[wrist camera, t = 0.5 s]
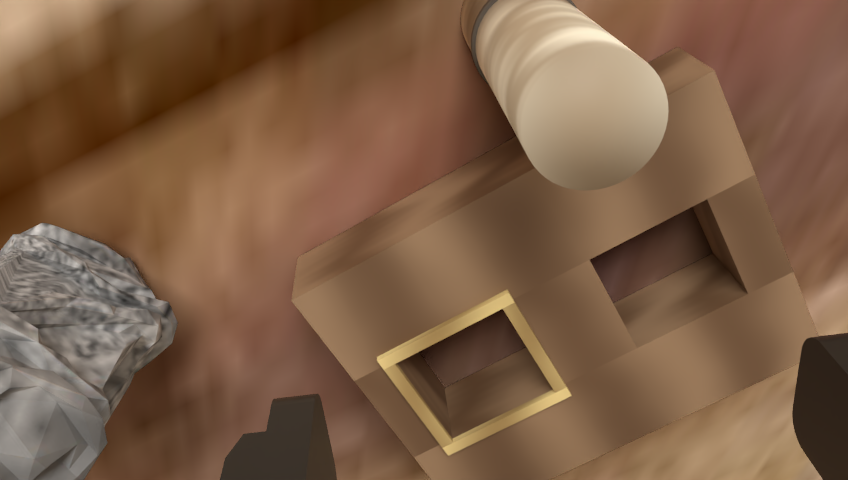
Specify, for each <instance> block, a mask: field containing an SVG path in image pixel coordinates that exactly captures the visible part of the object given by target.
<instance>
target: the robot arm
mask: <svg viewBox="0 0 848 480" xmlns="http://www.w3.org/2000/svg"><path fill="white" fill-rule="evenodd" d="M793 425H794V429H795V433H796V436H797V439H798V442H799V444H800V446H801V448H802V449H803V451H804V452H805V454H806V455H807V457H808V458H809V460H810V461H811V463H812V464H813V465H814V467H815V468H816V470H817V471H818V473H819V474H820V476H821V477H822V479H823V480H848V333H844V334H835V335H827V336H818V337H810V338H807V339H806V340H805V341H804V343H803V346H802V350H801V356H800V363H799V370H798V377H797V383H796V390H795V397H794V404H793ZM220 480H337V478H336V470H335V463H334V458H333V454H332V449H331V444H330V439H329V435H328V430H327V425H326V421H325V416H324V411H323V407H322V402H321V399H320V396H319V395H318V394H311V395H303V396H294V397H286V398H277V399H274V400H273V401H272V404H271V409H270V415H269V420H268V425H267V431H265V432H257V433H248V434H243V435H242V437H241V438H240V439H239V441H238V442H237V443H236V445H235V446H234V447H233V449H232V450H231V451H230V453H229V454H228V455H227V457H226V458H225V461H224V466H223V470H222V474H221V478H220Z"/></svg>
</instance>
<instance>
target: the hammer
mask: <svg viewBox="0 0 848 480" xmlns="http://www.w3.org/2000/svg"><path fill="white" fill-rule="evenodd" d="M177 324H178V322H177V320H176V318H175V315H174V313H173V311H172V309H171V306H170V304H169V302H166V301H162V300H158V299H156V297H155V296H154V294H153V292H152V290H150V288H149V287H148V286H147V284H146V283H145V281H144V280H143V278H142V277H141V276H140V274H139V272H138V270H137V269H136V267H135V265H134V263H133V262H132V260H131V258H123V257H122V256H120V255H119V254H118V253H116V252H115V251H114V250H112V249H111V248H110V247H108V246H107V245H106V244H103V243H101V242H98V241H95V240H92V239H90V238H87V237H84V236H82V235H79V234H76V233H73V232H71V231H68V230H65V229H63V228H60V227H57V226H54V225H51V224H46V223H41V224H39V225H37V226H35V227H33V228H31V229H29V230H27V231H25V232H23V233H21V234H13V235H12V237H11V238H10V239H9V240H8V242H7V243H6V244H5V245H4V247H3V248H2V249H1V250H0V480H84V479H85V477H86V475H87V474H88V472H89V471H90V469H91V468H92V466H93V465H94V463H95V461H96V460H97V458H98V457H99V455H100V454H101V452H102V450H103V449H104V447H105V446H106V444H107V439H106V433H105V428H104V426H105V425H106V423H107V422H108V420H109V418H110V417H111V415H112V413H113V412H114V410H115V408H116V407H117V405H118V404H119V402H120V400H121V399H122V397H123V395H124V394H125V392H126V391H127V389H128V387H129V386H130V384H131V381H132V379H133V376H134V374H135V373H136V372H137V371H139V370H140V369H141V368H143V367H144V366H145V365H147V364H148V363H149V362H151V361H152V360H153V359H154V358H155V357H157V356H158V355H159V354H160V353H161V352H162V351H164V350H165V349H166V348H167V347H168V346H169V345H171V344H172V342H173V338H174V335H175V331H176V328H177Z"/></svg>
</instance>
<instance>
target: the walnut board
mask: <svg viewBox="0 0 848 480" xmlns="http://www.w3.org/2000/svg"><path fill="white" fill-rule="evenodd" d="M648 64H649V65H650V66H651V67H652V68H653V69H654V70H655V71H656V73H657V74H658V76H659V77H660V79H661V81H662V83H663V85H664V88H665V91H666V94H667V99H668V111H669V112H668V122H667V126H666V130H665V133H664V136H663V139H662V141H661V143H660V145H659V147H658V149H657V150H656V152H655V153H654V155H653V156H652V157H651V159H650V160H649V161H648V162H647V163H646V164H645V165H644V166H643V167H642V168H641V169H640V170H639V171H638V172H636V173H635V174H634V175H632V176H631V177H629V178H628V179H626V180H624V181H622V182H620V183H618V184H616V185H613V186H610V187H607V188H603V189H598V190H589V191H585V190H574V189H568V188H565V187H562V186H559V185H557V184H555V183H553V182H551V181H550V180H548V179H547V178H545V177H544V176H543V175H542V174H541V173H539V172H538V170H537V169H536V168H535V167H534V166H533V164H532V163H531V161H530V160H529V158H528V156H527V154H526V152H525V151H524V149H523V147H522V145H521V143H520V141H519V139H518V137H517V136H516V137H514V138H512V139H510V140H509V141H507V142H505V143H503V144H501V145H500V146H498V147H496V148H494V149H492V150H491V151H489V152H487V153H485V154H483V155H482V156H480V157H478V158H476V159H474V160H473V161H471V162H469V163H467V164H465V165H464V166H462V167H460V168H458V169H456V170H454V171H453V172H451V173H449V174H447V175H445V176H444V177H442V178H440V179H438V180H436V181H435V182H433V183H431V184H429V185H427V186H426V187H424V188H422V189H420V190H418V191H417V192H415V193H413V194H411V195H409V196H408V197H406V198H404V199H402V200H400V201H399V202H397V203H395V204H393V205H391V206H390V207H388V208H386V209H384V210H382V211H381V212H379V213H377V214H375V215H373V216H372V217H370V218H368V219H366V220H364V221H363V222H361V223H359V224H357V225H355V226H354V227H352V228H350V229H348V230H346V231H345V232H343V233H341V234H339V235H337V236H336V237H334V238H332V239H330V240H328V241H327V242H325V243H323V244H321V245H319V246H318V247H316V248H314V249H312V250H310V251H308V252H307V253H305V254H303V255H301V256H299V257H298V258H297V265H296V272H295V279H294V286H293V293H292V300H291V301H292V302H293V303H294V305H295V306H296V307H297V309H298V310H299V311H300V312H301V314H302V315H303V316H304V318H305V319H306V320H307V321H308V323H309V324H310V325H311V326H312V328H313V329H314V330H315V332H316V333H317V334H318V335H319V337H320V338H321V339H322V341H323V342H324V343H325V344H326V346H327V347H328V348H329V349H330V351H331V352H332V353H333V355H334V356H335V357H336V358H337V360H338V361H339V362H340V364H341V365H342V366H343V367H344V369H345V370H346V371H347V373H348V374H349V375H350V376H351V378H352V379H353V380H354V381H355V383H356V384H357V385H358V387H359V388H360V389H361V390H362V392H363V393H364V394H365V396H366V397H367V398H368V399H369V401H370V402H371V403H372V405H373V406H374V407H375V408H376V410H377V411H378V412H379V413H380V415H381V416H382V417H383V419H384V420H385V421H386V422H387V424H388V425H389V426H390V428H391V429H392V430H393V431H394V433H395V434H396V435H397V437H398V438H399V439H400V440H401V442H402V443H403V444H404V445H405V447H406V448H407V449H408V451H409V452H410V453H411V454H412V456H413V457H414V458H415V460H416V461H417V462H418V463H419V465H420V466H421V467H422V468H423V470H424V471H425V472H426V474H427V475H428V476H429V477H430V479H431V480H550V479H553V478H555V477H557V476H559V475H561V474H563V473H565V472H568V471H570V470H572V469H574V468H576V467H578V466H580V465H583V464H585V463H587V462H589V461H591V460H593V459H595V458H597V457H600V456H602V455H604V454H606V453H608V452H610V451H612V450H615V449H617V448H619V447H621V446H623V445H625V444H627V443H630V442H632V441H634V440H636V439H638V438H640V437H642V436H644V435H647V434H649V433H651V432H653V431H655V430H657V429H659V428H662V427H664V426H666V425H668V424H670V423H672V422H674V421H677V420H679V419H681V418H683V417H685V416H687V415H689V414H692V413H694V412H696V411H698V410H700V409H702V408H704V407H706V406H709V405H711V404H713V403H715V402H717V401H719V400H721V399H724V398H726V397H728V396H730V395H732V394H734V393H736V392H739V391H741V390H743V389H745V388H747V387H749V386H751V385H753V384H756V383H758V382H760V381H762V380H764V379H766V378H768V377H771V376H773V375H775V374H777V373H779V372H781V371H783V370H786V369H788V368H790V367H792V366H794V365H796V364H798V363H800V356H801V350H802V346H803V343H804V341H805V340H806V339H807V338H810V337H818V333H817V331H816V328H815V326H814V323H813V321H812V318H811V315H810V313H809V310H808V308H807V305H806V303H805V300H804V298H803V295H802V293H801V290H800V287H799V285H798V282H797V280H796V277H795V275H794V272H793V270H792V267H791V264H790V262H789V259H788V257H787V254H786V252H785V249H784V247H783V244H782V242H781V239H780V236H779V234H778V231H777V229H776V226H775V224H774V221H773V219H772V216H771V213H770V211H769V208H768V206H767V203H766V201H765V198H764V196H763V193H762V191H761V188H760V185H759V183H758V180H757V178H756V175H755V173H754V170H753V168H752V165H751V163H750V160H749V157H748V155H747V152H746V150H745V147H744V145H743V142H742V140H741V137H740V134H739V132H738V129H737V127H736V124H735V122H734V119H733V117H732V114H731V112H730V109H729V106H728V104H727V101H726V99H725V96H724V94H723V91H722V89H721V86H720V83H719V81H718V78H717V76H716V73H715V71H714V70H713V69H712V68H710V67H708V66H707V65H705V64H704V63H702V62H701V61H699V60H698V59H696V58H694V57H693V56H691V55H690V54H688V53H687V52H685V51H684V50H682V49H681V48H679V47H676V48H674V49H673V50H671V51H669V52H667V53H665V54H664V55H662V56H660V57H658V58H656V59H655V60H653V61H651V62H649V63H648ZM691 207H693V209H694V211H695V214H696V216H697V218H698V220H699V223H700V225H701V227H702V229H703V232H704V234H705V236H706V238H707V241H708V243H709V245H710V247H711V250H712V252H713V254H711V255H709V256H707V257H705V258H703V259H701V260H699V261H697V262H695V263H693V264H691V265H689V266H687V267H685V268H683V269H681V270H679V271H677V272H675V273H673V274H671V275H669V276H667V277H665V278H663V279H661V280H659V281H657V282H655V283H653V284H651V285H649V286H647V287H645V288H643V289H641V290H639V291H637V292H635V293H633V294H631V295H629V296H627V297H625V298H623V299H621V300H619V301H617V302H615V303H613V302H612V301H611V299H610V297H609V295H608V293H607V291H606V289H605V288H604V286H603V284H602V282H601V280H600V278H599V276H598V275H597V273H596V271H595V269H594V267H593V265H592V263H591V262H590V259H592V258H594V257H596V256H598V255H600V254H602V253H604V252H606V251H607V250H609V249H611V248H613V247H615V246H617V245H619V244H621V243H623V242H625V241H627V240H629V239H631V238H633V237H635V236H637V235H639V234H640V233H642V232H644V231H646V230H648V229H650V228H652V227H654V226H656V225H658V224H660V223H662V222H664V221H666V220H668V219H670V218H671V217H673V216H675V215H677V214H679V213H681V212H683V211H685V210H687V209H689V208H691ZM501 309H503V310H504V312H505V313H506V315H507V317H508V318H509V320H510V321H511V323H512V324H513V326H514V328H515V329H516V331H517V332H518V334H519V336H520V337H521V339H522V340H523V342H524V344H525V345H526V347H525V348H524V349H522V350H520V351H518V352H516V353H514V354H512V355H510V356H508V357H506V358H504V359H502V360H500V361H498V362H496V363H494V364H492V365H490V366H488V367H486V368H484V369H482V370H480V371H478V372H476V373H474V374H472V375H470V376H468V377H466V378H464V379H462V380H460V381H458V382H456V383H454V384H452V385H450V386H448V387H446V388H444V387H443V385H442V384H441V383H440V381H439V380H438V378H437V377H436V376H435V374H434V373H433V371H432V370H431V369H430V367H429V366H428V364H427V363H426V362H425V360H424V359H423V357H422V356H421V355H420V353H419V351H421V350H423V349H425V348H427V347H429V346H431V345H433V344H435V343H437V342H439V341H441V340H443V339H445V338H447V337H449V336H451V335H453V334H454V333H456V332H458V331H460V330H462V329H464V328H466V327H468V326H470V325H472V324H474V323H476V322H478V321H480V320H482V319H484V318H486V317H487V316H489V315H491V314H493V313H495V312H497V311H499V310H501Z"/></svg>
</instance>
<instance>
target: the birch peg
mask: <svg viewBox="0 0 848 480" xmlns="http://www.w3.org/2000/svg"><path fill="white" fill-rule="evenodd" d="M460 20H461V29H462V33H463V36H464V38H465V40H466V42H467V44H468V46H469V48H470V50H471V52H472V57H473V60H474V63H475V65H476V68H477V70H478V72H479V73H480V75H481V76H482V78H483V79H484V80H485V82H486V83H487V84H488V85H489V86H490V87H491V89H492V91H493V93H494V95H495V96H496V98H497V100H498V102H499V104H500V106H501V108H502V110H503V111H504V113H505V115H506V117H507V119H508V121H509V123H510V124H511V126H512V128H513V130H514V132H515V134H516V136H517V137H518V139H519V141H520V143H521V145H522V147H523V149H524V151H525V152H526V154H527V156H528V158H529V160H530V161H531V163H532V164H533V166H534V167H535V168H536V169H537V170H538V172H539V173H541V174H542V175H543V176H544V177H545V178H547V179H548V180H550V181H551V182H553V183H555V184H557V185H559V186H562V187H565V188H568V189H574V190H585V191H589V190H598V189H603V188H607V187H610V186H613V185H616V184H618V183H620V182H622V181H624V180H626V179H628V178H629V177H631V176H632V175H634V174H635V173H636V172H638V171H639V170H640V169H641V168H642V167H643V166H644V165H645V164H646V163H647V162H648V161H649V160H650V159H651V157H652V156H653V155H654V153H655V152H656V150H657V149H658V147H659V145H660V143H661V141H662V139H663V136H664V133H665V130H666V126H667V122H668V112H669V111H668V99H667V94H666V91H665V88H664V85H663V83H662V81H661V79H660V77H659V76H658V74H657V73H656V71H655V70H654V69H653V68H652V67H651V66H650V65H649V64H648V63H647V62H646V61H644V60H643V59H642V58H641V57H639V56H638V55H637V54H635V53H634V52H633V51H631V50H630V49H629V48H628V47H626V46H625V45H624V44H622V43H621V42H620V41H618V40H617V39H616V38H615V37H613V36H612V35H611V34H609V33H608V32H607V31H605V30H604V29H603V28H602V27H600V26H599V25H598V24H596V23H595V22H594V21H592V20H591V19H590V18H588V17H587V16H586V15H585V14H583V13H582V12H581V11H579V10H578V9H577V7H576V6H575V5H574V3H573V2H572V1H571V0H464V2H463V5H462V9H461V17H460Z"/></svg>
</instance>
